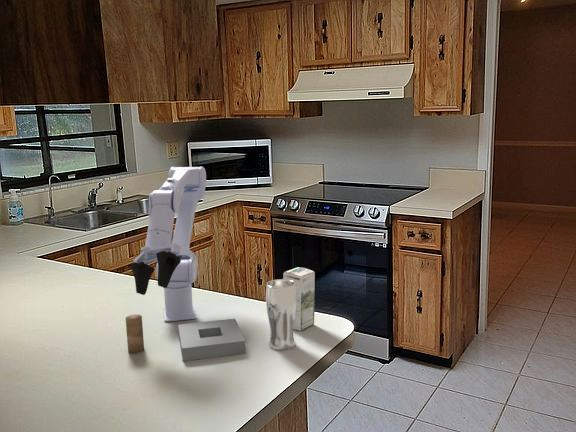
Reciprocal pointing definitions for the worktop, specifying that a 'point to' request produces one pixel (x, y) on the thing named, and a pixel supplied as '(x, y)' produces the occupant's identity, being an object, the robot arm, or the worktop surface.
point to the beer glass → (281, 313)
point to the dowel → (134, 333)
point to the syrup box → (303, 296)
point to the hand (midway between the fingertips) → (151, 290)
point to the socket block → (210, 339)
